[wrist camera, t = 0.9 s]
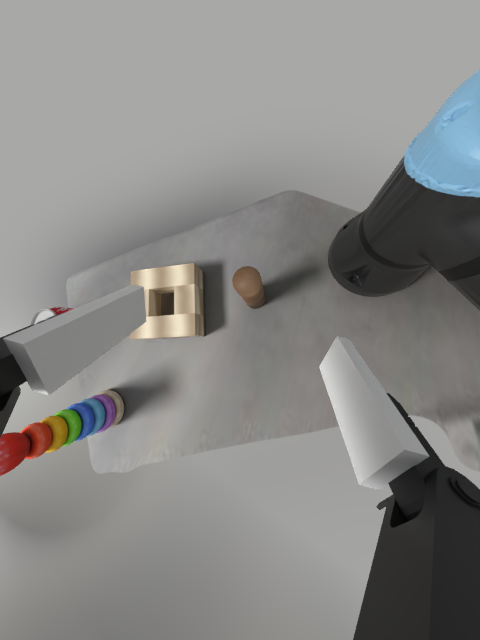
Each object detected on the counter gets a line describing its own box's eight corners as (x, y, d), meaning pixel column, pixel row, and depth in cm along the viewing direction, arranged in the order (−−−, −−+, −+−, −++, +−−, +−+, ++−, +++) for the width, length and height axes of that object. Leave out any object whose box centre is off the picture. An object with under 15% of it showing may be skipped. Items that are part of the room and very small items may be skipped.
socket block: (204, 272, 39) (194, 262, 34) (205, 335, 38) (195, 335, 33) (147, 279, 42) (131, 271, 37) (147, 339, 40) (129, 339, 35)
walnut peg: (264, 288, 36) (260, 264, 24) (265, 307, 36) (261, 293, 24) (245, 290, 37) (231, 268, 25) (246, 309, 36) (233, 295, 25)
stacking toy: (106, 382, 41) (-30, 418, 23) (132, 400, 39) (7, 454, 21) (91, 413, 41) (-58, 475, 23) (116, 433, 39) (-22, 516, 21)
